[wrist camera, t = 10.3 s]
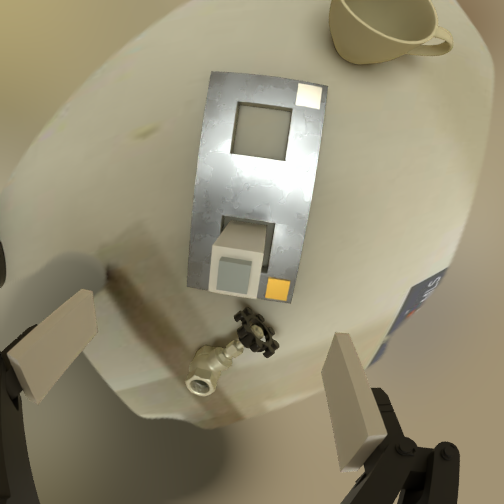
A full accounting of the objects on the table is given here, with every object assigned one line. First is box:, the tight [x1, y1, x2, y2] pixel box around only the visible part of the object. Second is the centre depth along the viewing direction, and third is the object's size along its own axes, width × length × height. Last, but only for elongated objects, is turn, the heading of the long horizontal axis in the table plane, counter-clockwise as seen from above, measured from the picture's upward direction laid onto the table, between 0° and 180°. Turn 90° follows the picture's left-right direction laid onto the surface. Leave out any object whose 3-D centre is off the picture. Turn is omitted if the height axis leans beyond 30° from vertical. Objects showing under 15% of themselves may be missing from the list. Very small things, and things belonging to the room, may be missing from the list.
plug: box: [208, 220, 267, 299], centre depth 27 cm, size 4×4×11 cm
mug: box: [329, 0, 453, 64], centre depth 18 cm, size 11×10×12 cm
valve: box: [185, 307, 279, 396], centre depth 33 cm, size 7×7×12 cm
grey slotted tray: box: [187, 71, 328, 304], centre depth 29 cm, size 12×24×2 cm, turn 172°
